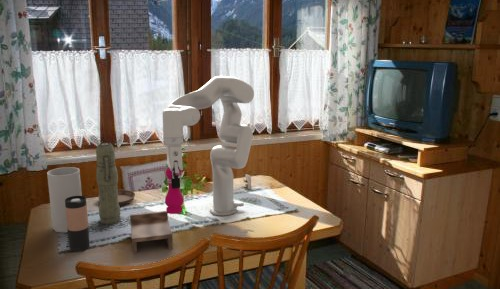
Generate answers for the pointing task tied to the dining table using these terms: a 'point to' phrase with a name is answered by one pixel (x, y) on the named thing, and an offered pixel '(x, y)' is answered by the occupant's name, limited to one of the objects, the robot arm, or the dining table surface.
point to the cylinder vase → (62, 193)
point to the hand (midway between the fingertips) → (174, 185)
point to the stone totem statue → (107, 184)
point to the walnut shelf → (150, 228)
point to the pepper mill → (173, 196)
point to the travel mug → (77, 223)
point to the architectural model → (247, 181)
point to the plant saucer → (125, 196)
